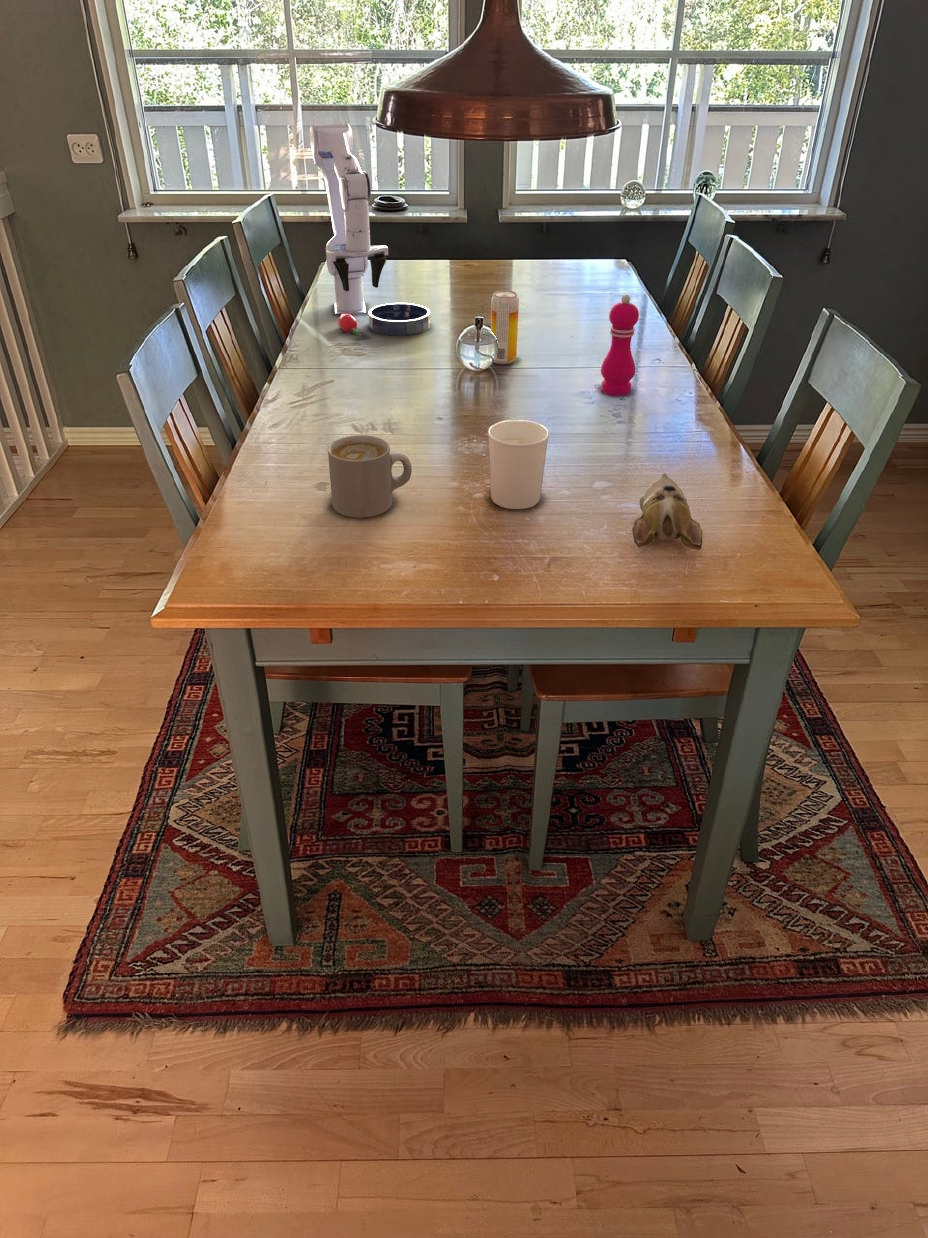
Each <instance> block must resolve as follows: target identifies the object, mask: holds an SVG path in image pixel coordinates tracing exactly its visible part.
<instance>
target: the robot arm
mask: <svg viewBox="0 0 928 1238" xmlns="http://www.w3.org/2000/svg"><path fill="white" fill-rule="evenodd" d="M353 137H354V136H353V130H352V126H351V125H350V124H349V123H348V122H345V123H327V124H324V123H323V124H315V123H312V124H311V126H309V142H310V150H311V155H312V160H313V162H314V165H315V166H317V167H319V168H320V170H321V171H322V174H323V178H324V182H325V189H326V194H327V201H328V207H329V213H330V218H331V224H332V230H333V235H334V236H332V238H330V240H328V242H327V243H326V245H325V255H326V256H325V258H326V259H325V260H326V267H327V271H328V273H329V274H330V275H331V276H333V280H334V281H333V282H334V294H335V297H334V298H335V302H334V314H335V315H342V314H366V313H367V310H366V302H365V301H364V288H363V287H364V285H363V277H365V275H364V274H366V272H367V271H368V269H369V262H370V267H371V268H370V269H371V270H370V271H371V285H372V287H373V288H375V289H377V288H379V284H380V277H381V274H382V271H383V269H384V266H385V264H386V262H387V257H386V256H389V247H388V246H387V245H385V244H384V245H383V244H382V245H371V230H370V228H371V227H370V211H369V210H370V209H369V201H370V200H371V197H372V186H371V185H372V183H371V179H370V176H369V173H368V172H366V171H363V170H362V169H361V166H360V164H359V161H358V159H357V157H356V156H354V154H352V151H353V145H354V138H353Z"/></svg>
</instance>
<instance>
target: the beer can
mask: <svg viewBox="0 0 928 1238" xmlns="http://www.w3.org/2000/svg"><path fill="white" fill-rule="evenodd" d="M490 303H491V304H490V305H491V306H490V332H491V331H492V332H493V333H494V335H495V336H496V338H497V341H498V353H497V358H496V360H494V361H492V363H494V364H499V365H509V364H512V363H514V362H515V360H516V359H517V354H518V353H517V351H518V332H519V331H518V330H519V309H520V308H519V307H520V298H519V296H518V293H517V292H516V291H514V290H506V289H505V290H497V291H494V292H493V295H492V297H491V301H490Z"/></svg>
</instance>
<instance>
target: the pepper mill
mask: <svg viewBox="0 0 928 1238" xmlns="http://www.w3.org/2000/svg"><path fill="white" fill-rule="evenodd" d="M620 299H621V301H620V302H617V303H614V305H612V307H611V308H610V311H609V314H608V320H609V322H610V324H611V325H610V330H609V334H610V335H611V343H610V347H609V350H608V352H607V354H606V356H605V357H604V359H603V361H602V363H601V367H600V375H601V376H602V378H603V379H602V381H601V385H600V386H601V387H600V390H601V392H602V393H604V394H605V395H609V396H615V397H619V396H620V397H621V396H626V395H629V394H630V393H631V390H632V382H631V380H632V379H633V378H634V377H635V375H636V363H635V359H634V357H633V353H632V348H631V344H632V343H631V342H632V338H633V336H634V335H635V331H636V328H635V325H636V324H637V323H638V322H639V318H640V312H639V309H638V306H637V305H635V304H633V303H631V297H630V296H629V295H628V294H624V295H622V297H621V298H620Z"/></svg>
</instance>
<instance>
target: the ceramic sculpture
mask: <svg viewBox="0 0 928 1238" xmlns="http://www.w3.org/2000/svg"><path fill="white" fill-rule="evenodd" d="M639 507H640V510H641V513H642V514H641V515H640V516H639V517H638V518H636V519H635V520H634V522H633V526H632V529H631V530H632V531H631V532H632V538H633V542H634V544H635V545H636V546H637V547H638V548H642V547H645V546H648V545H650V544H652V543H653V542H654V540H656V541H663V542H673V541H677V540H678V539H680V541H681V543H682V544H683V546H685V547H687V548H689V549H693V550H697V551H701V550H702V546H703V530H702V528H701V524H700V522H698V521H697V520H695V519H693V518H692V515H691V511H690V506H689V504H688V500H687V498H686V496H685V495H684V492H683V490H682V488H681V487H680V485H678V483H677V482H676V481H674V480H673V479H672V478H670V477H669V476H668V474H667V473H665V472H664V473H662V474H661V476H660V477H658V478H657V479H656V480H654V481H653V482H652V483H651V484H650V485H649V486H648V487H647V488H646V489H645V491H644V492H643V493H642V495H641V496H640V497H639Z"/></svg>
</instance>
